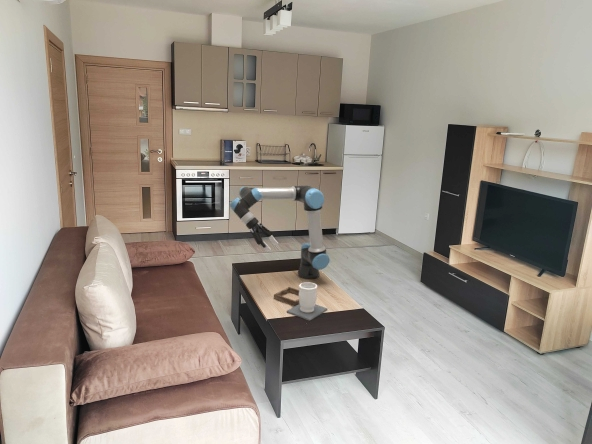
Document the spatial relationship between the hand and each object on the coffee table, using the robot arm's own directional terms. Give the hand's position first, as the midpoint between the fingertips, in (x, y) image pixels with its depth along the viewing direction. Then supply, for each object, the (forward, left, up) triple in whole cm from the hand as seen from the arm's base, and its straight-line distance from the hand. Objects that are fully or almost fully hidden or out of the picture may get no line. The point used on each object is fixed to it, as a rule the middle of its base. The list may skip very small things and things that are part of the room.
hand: (273, 247), depth 271 cm
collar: (-6, +11, -32) cm, 34 cm away
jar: (+2, +28, -31) cm, 42 cm away
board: (+2, +28, -32) cm, 42 cm away
